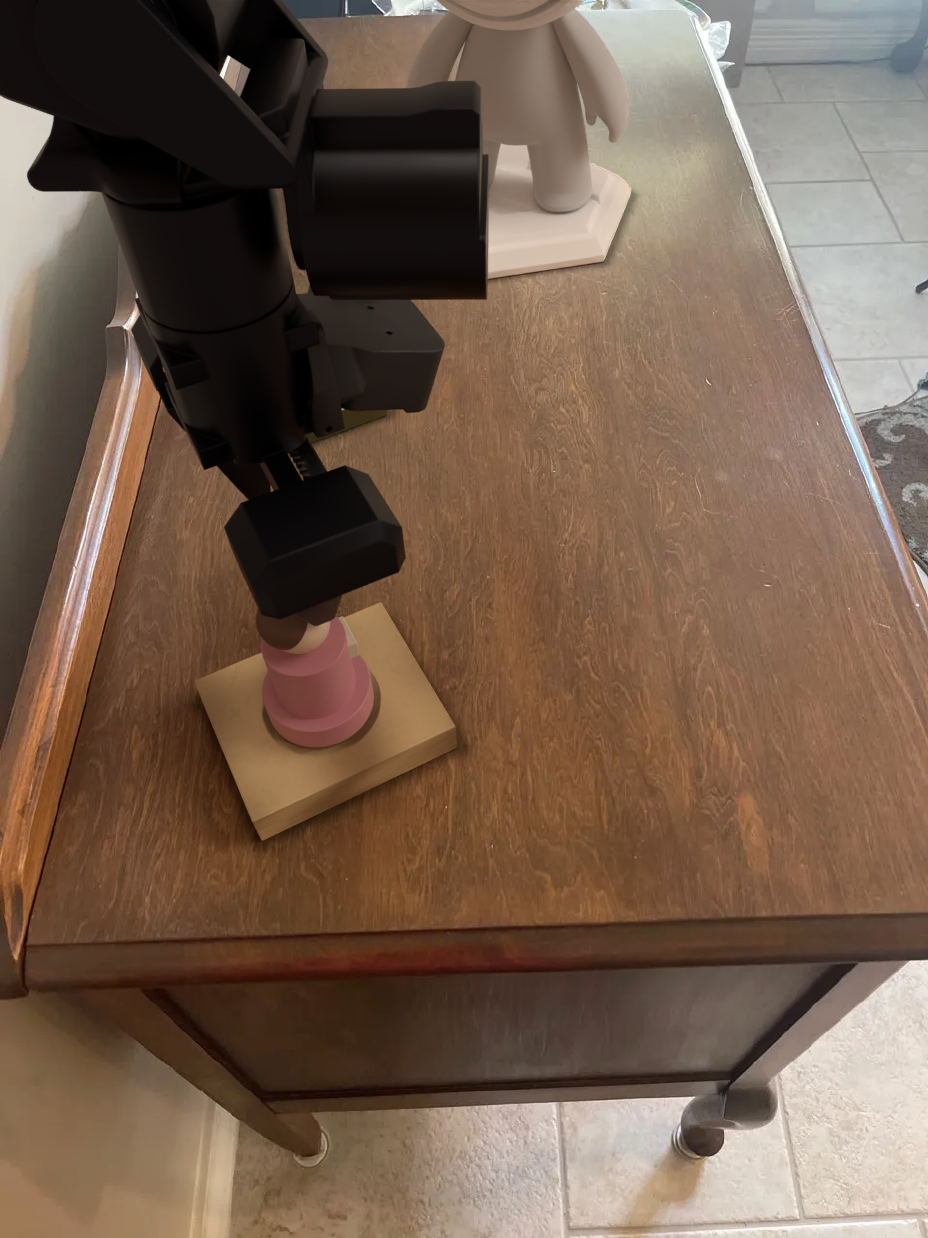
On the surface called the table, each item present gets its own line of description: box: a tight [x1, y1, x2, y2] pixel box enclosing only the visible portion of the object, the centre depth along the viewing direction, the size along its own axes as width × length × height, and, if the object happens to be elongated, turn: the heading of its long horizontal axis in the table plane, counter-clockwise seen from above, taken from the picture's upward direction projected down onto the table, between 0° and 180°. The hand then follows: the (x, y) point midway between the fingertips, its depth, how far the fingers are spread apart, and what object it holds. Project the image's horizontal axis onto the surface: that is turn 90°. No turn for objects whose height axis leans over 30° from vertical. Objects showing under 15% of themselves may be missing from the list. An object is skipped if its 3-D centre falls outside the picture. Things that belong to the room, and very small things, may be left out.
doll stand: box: [193, 601, 458, 842], centre depth 53 cm, size 12×10×2 cm
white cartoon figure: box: [405, 0, 632, 280], centre depth 73 cm, size 20×23×35 cm
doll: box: [255, 608, 374, 748], centre depth 48 cm, size 6×6×10 cm
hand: (290, 556), depth 47 cm, fingers open, 9 cm apart
